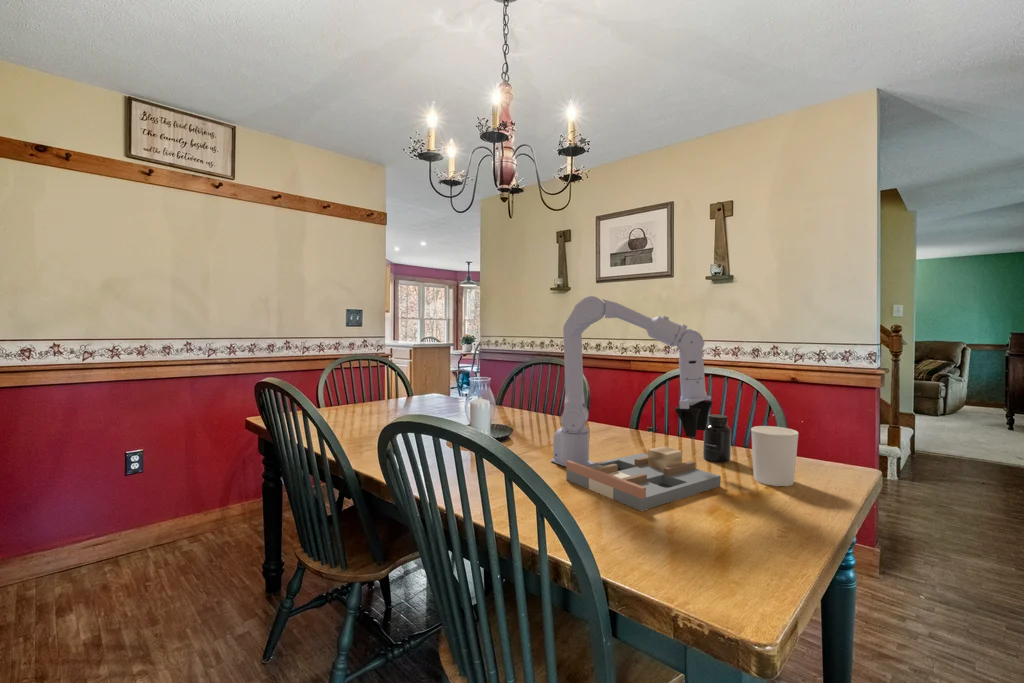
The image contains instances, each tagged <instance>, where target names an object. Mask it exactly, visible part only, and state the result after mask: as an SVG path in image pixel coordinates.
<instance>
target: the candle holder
mask: <svg viewBox="0 0 1024 683" xmlns="http://www.w3.org/2000/svg"><path fill="white" fill-rule="evenodd" d="M750 431H751V432H750V433H751V452H752V474H753V479H754V480H755V482H758V483H760V484H762V483H763V484H762V485H766V484H767V486H771V485H772V486H771V487H779V486H786V487H791V486H793V485H794V484H795V478H796V476H795V473H796V465H797V452H798V443H799V442H798V441H799V434H800V433H799V432H798V431H797V430H795V429H792V428H788V427H782V426H774V425H773V426H771V425H757V426H756V425H755V426H753V427H751V428H750Z"/></svg>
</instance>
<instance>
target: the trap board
mask: <svg viewBox="0 0 1024 683" xmlns="http://www.w3.org/2000/svg"><path fill="white" fill-rule="evenodd" d="M696 464H697V462H695V461H694V460H693V461H692V460H690V461H685V462H682V463H681V464H677V465H673V466H669V467H665V468H664V471H663V470H660V469H656V468H653V467H650V466H648V453H647V454H646V453H644V452H641V453H640V452H639V453H636V454H631V455H627V456H622V457H618V458H612V459H608V460H605V461H603V460H602V461H600V462H599V461H598V462H595V463H593V464H589V465H582V464H580V463H577V462H574V461H571V460H569V461H567V467H566V472H565V473H566V477H565V478H566V480H567V481H568V482H571V483H573V484H574V485H575V484H576V485H578V486H580V487H582V488H585V489H587V490H591V491H593V492H594V491H595V492H594V493H597V494H599V493H600V495H602V496H604V495H605V496H604V497H606V496H607V498H609V499H611V498H612V499H611V500H614V501H616V500H617V501H616V502H618V501H619V502H618V503H621V504H624V505H625V504H626V506H629V507H630V506H631V507H630V508H633V509H635V510H637V509H638V510H637V511H640V512H644V511H647V510H650V508H651V509H653V508H652V507H654V508H656V507H655V506H657V507H659V506H658V505H660V506H662V505H661V504H663V505H666V504H665V503H667V504H668V502H670V503H672V501H673V502H676V501H679V500H682V499H685V498H689V497H692V496H695V495H698V494H701V493H700V492H702V493H704V492H703V491H705V492H708V491H711V490H713V488H714V489H717V488H716V487H718V488H720V487H721V480H722V479H721V475H720V474H716V473H712V472H710V471H707V470H702V469H699V468H696ZM710 489H711V490H710ZM707 490H708V491H707ZM691 495H692V496H691ZM678 499H679V500H678ZM675 500H676V501H675ZM646 509H647V510H646Z"/></svg>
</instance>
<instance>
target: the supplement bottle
mask: <svg viewBox="0 0 1024 683" xmlns="http://www.w3.org/2000/svg"><path fill="white" fill-rule="evenodd" d="M707 423H708V424H706V429H705V430H703V447H702V448H703V452H702V456H703V459H705V460H706V461H709V462H711V463H712V462H713V463H721V464H723V463H728V462H730V460H731V450H732V449H731V447H732V429H731V428H730V426H729V425H728V424H729V422H728V416H727V415H724V414H708V418H707Z"/></svg>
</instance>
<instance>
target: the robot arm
mask: <svg viewBox="0 0 1024 683" xmlns="http://www.w3.org/2000/svg"><path fill="white" fill-rule="evenodd" d="M603 318H604V319H619V320H621V321H624V322H627V323H629V324H632V325H634V326H636V327H638V328H641V329H644V330H645V331H646V333H647V336H648V337H649V338H651V339H653V340H656V341H658V342H660V343H662V344H665V345H667V346H669V347H673V348H674V347H677V349H678V350H679V351H678V353H679V360H678V367H679V382H680V384H679V385H680V400H678V401H679V403H678V404H679V406H676V407H675V408H674V411H675V413H676V414H677V416H678V417H679V419H680V422H681V425H682V428H683V431H684V434H685V436H686V437H689V438H696V437H697V431H704V430H705V429H706V425H707V423H708V416H709V412H710V410H711V408H712V405H713V401H712V400H711V399H712V395H707V394H708V393H707V391H706V380H705V365H704V363H705V362H704V357H703V356H704V354H703V349H704V346H705V341H704V339H703V336H702V335H701V333H700V332H698V331H696V330H693V329H688V325H686V324H682V325H681V324H679V323H676V322H674V321H672V320H669V319H670V317H669V316H666V315H664V316H660V315H657V316H654V317H653V318H651V317H649V316H646V315H644V314H643V313H640V312H637V311H635V310H634V309H632V308H628V307H627V306H624V304H623V305H622V304H620V303H618V302H615V301H612V300H608V299H603V298H602V299H600V298H598V297H597V296H593V295H588V296H586V297H583V299H581V300H580V301H579V302H578V303H576V304H575V306H574V308H573V310H572V311H571V313H570V315H569V316H568V318H567V320H566V321H565V323H564V324H563V328H562V329H563V330H562V331H563V357H564V359H563V360H564V364H563V365H564V387H565V389H564V390H565V391H564V392H565V394H564V395H565V396H564V403H563V407H564V408H563V413H562V414H561V416H560V422H561V427H559V428H558V429H557V430H556V431H555V432H554V435H553V442H552V443H553V451H552V452H553V453H552V454H553V455H552V456H553V457H552V459H550V462H552V463H555V464H557V465H559V466H560V465H561V466H563V467H565V468H567V461H569V460H571V461H574V462H577V463H580V464H582V465H589V464H593V463H596V462H594V461H592V460H590V428H588V426H587V425H586V423H587V422H588V420H589V415H590V414H589V409H588V407H587V406H586V401H585V400H586V399H585V394H584V369H583V368H584V367H583V365H584V364H583V337H582V334H583V333H584V332H585V331H586V330H587V329H588V328H589V327H590V326H591V325H593V324H594V323H596V322H598V321H601V319H603Z"/></svg>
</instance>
